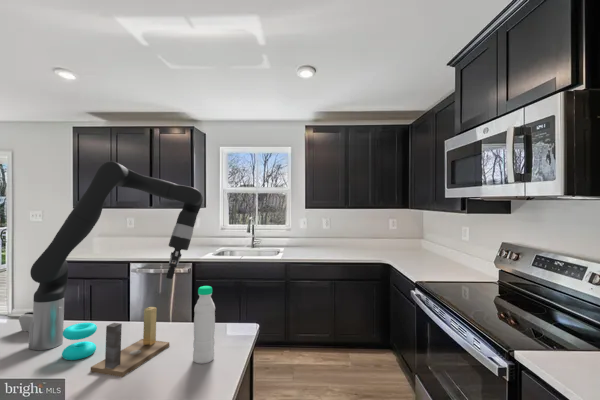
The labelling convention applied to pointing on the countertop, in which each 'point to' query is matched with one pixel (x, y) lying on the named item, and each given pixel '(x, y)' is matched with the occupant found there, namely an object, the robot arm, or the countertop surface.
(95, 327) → the donuts
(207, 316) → the water bottle
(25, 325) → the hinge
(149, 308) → the brass leg
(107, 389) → the countertop surface
